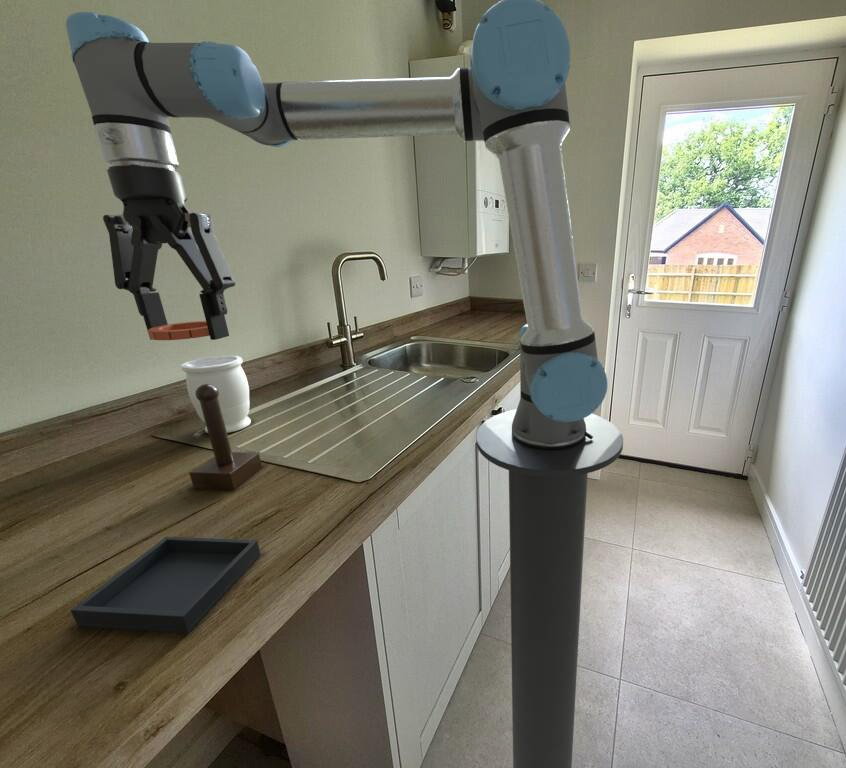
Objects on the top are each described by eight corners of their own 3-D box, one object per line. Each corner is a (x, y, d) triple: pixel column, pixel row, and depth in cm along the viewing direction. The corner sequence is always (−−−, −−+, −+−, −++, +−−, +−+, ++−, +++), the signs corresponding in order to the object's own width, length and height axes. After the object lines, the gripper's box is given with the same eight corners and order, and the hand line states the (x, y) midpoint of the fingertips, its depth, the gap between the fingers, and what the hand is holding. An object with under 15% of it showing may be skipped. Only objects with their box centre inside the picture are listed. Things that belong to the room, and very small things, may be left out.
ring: (238, 328, 64) (236, 320, 64) (192, 340, 56) (190, 331, 56) (186, 328, 65) (184, 320, 65) (133, 340, 57) (130, 331, 56)
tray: (261, 555, 52) (257, 540, 51) (188, 633, 41) (182, 616, 41) (171, 550, 53) (166, 536, 52) (77, 627, 42) (69, 610, 41)
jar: (266, 417, 94) (253, 354, 90) (236, 437, 84) (219, 367, 80) (222, 417, 95) (206, 354, 90) (186, 437, 85) (166, 367, 80)
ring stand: (262, 467, 73) (241, 378, 67) (234, 489, 66) (208, 392, 61) (225, 466, 73) (201, 377, 68) (193, 488, 66) (164, 391, 61)
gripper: (36, 165, 51) (97, 343, 58) (198, 160, 49) (240, 343, 56) (99, 175, 58) (146, 332, 65) (242, 170, 56) (274, 332, 63)
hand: (190, 337), depth 61 cm, fingers closed on ring, 9 cm apart
